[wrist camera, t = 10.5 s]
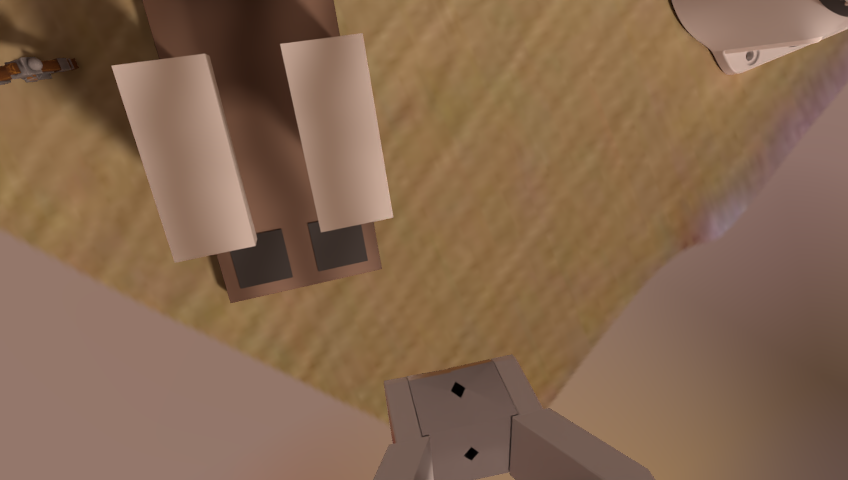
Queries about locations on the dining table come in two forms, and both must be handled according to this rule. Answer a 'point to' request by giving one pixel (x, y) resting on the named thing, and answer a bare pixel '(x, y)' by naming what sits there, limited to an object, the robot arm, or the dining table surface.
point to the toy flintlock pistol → (34, 69)
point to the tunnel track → (260, 140)
